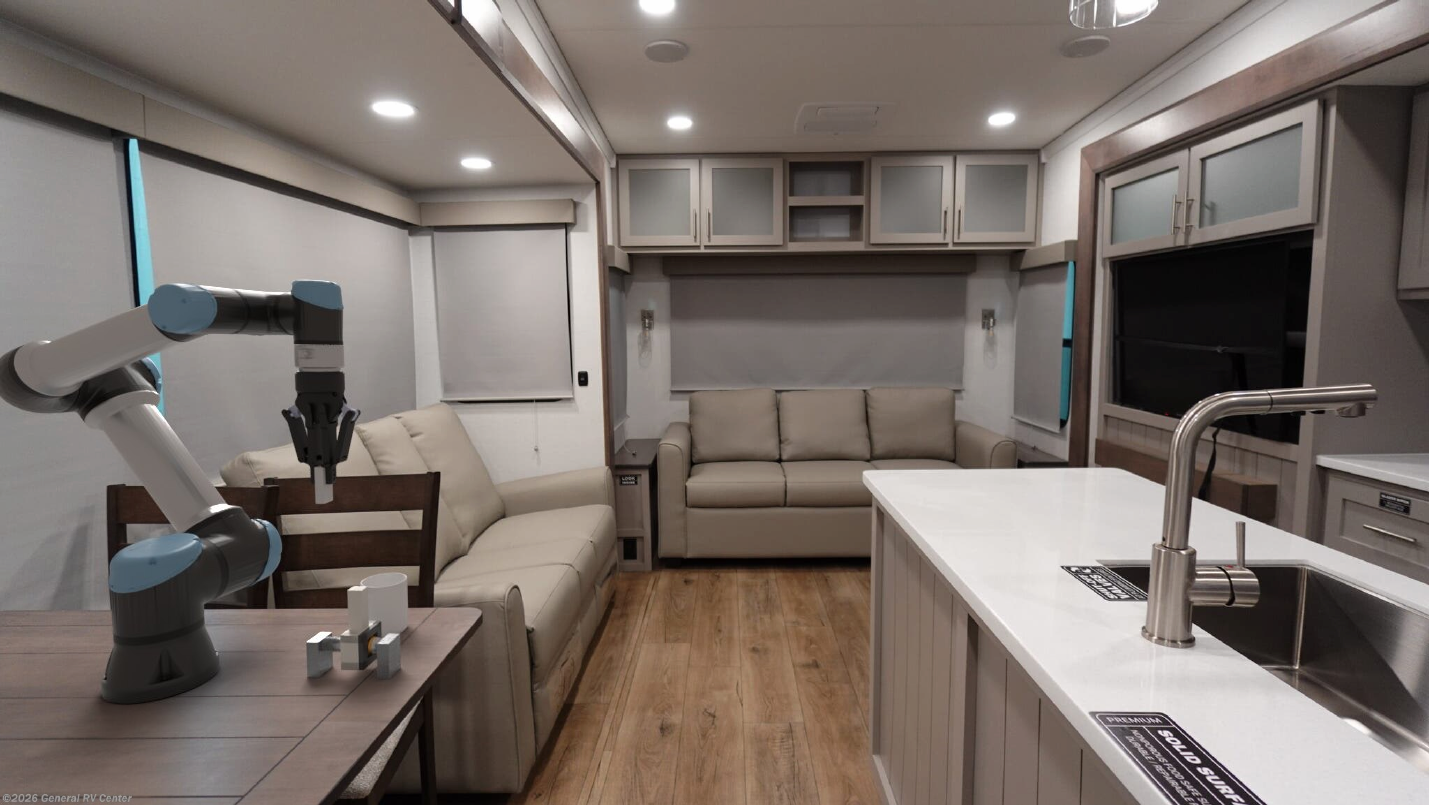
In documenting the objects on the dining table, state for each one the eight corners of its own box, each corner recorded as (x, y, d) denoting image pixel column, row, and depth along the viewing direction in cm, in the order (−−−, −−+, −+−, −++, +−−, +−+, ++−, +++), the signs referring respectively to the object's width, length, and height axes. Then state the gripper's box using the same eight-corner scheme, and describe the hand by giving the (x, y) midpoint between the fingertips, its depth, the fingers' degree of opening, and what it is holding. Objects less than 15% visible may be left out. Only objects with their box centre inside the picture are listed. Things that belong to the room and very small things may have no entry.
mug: (367, 651, 121) (365, 597, 121) (334, 643, 124) (332, 590, 124) (417, 625, 133) (416, 576, 132) (386, 618, 136) (385, 570, 135)
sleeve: (341, 669, 110) (338, 594, 109) (360, 653, 116) (358, 581, 115) (363, 670, 110) (361, 595, 109) (382, 653, 116) (380, 582, 115)
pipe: (307, 677, 112) (306, 641, 111) (321, 666, 115) (320, 631, 115) (389, 679, 111) (388, 643, 111) (400, 667, 115) (399, 633, 115)
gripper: (268, 369, 111) (273, 506, 113) (344, 371, 111) (348, 508, 113) (296, 368, 119) (301, 496, 121) (368, 369, 119) (371, 498, 121)
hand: (324, 501), depth 117 cm, fingers closed
